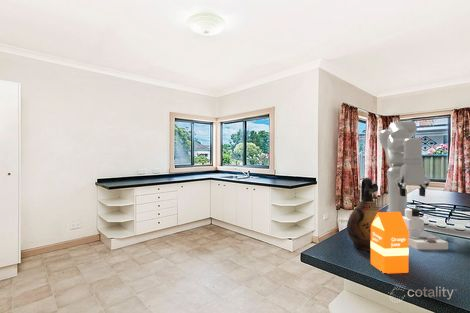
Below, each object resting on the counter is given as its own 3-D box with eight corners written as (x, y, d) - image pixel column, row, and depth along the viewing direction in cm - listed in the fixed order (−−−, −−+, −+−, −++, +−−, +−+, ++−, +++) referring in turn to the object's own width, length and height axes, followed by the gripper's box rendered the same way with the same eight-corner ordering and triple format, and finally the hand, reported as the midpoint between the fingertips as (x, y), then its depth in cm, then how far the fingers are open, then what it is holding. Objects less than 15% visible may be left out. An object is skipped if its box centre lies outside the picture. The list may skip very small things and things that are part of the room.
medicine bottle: (415, 230, 130) (415, 207, 129) (424, 234, 122) (424, 210, 122) (400, 229, 130) (400, 207, 130) (408, 234, 123) (408, 210, 123)
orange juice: (370, 263, 92) (370, 209, 91) (392, 262, 92) (393, 209, 92) (384, 273, 84) (384, 215, 84) (409, 272, 84) (409, 214, 84)
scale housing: (393, 236, 120) (393, 229, 120) (420, 236, 120) (420, 229, 120) (418, 250, 103) (418, 241, 103) (449, 250, 103) (449, 241, 103)
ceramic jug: (393, 255, 98) (394, 180, 98) (352, 252, 101) (352, 180, 101) (378, 240, 115) (378, 176, 114) (342, 238, 118) (342, 175, 117)
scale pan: (396, 230, 119) (396, 228, 119) (419, 230, 119) (419, 228, 119) (412, 238, 108) (412, 236, 108) (438, 238, 108) (438, 236, 108)
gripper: (424, 162, 129) (424, 194, 129) (390, 162, 130) (390, 194, 130) (435, 162, 122) (435, 197, 122) (400, 162, 122) (400, 197, 122)
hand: (412, 196), depth 126 cm, fingers open, 9 cm apart
